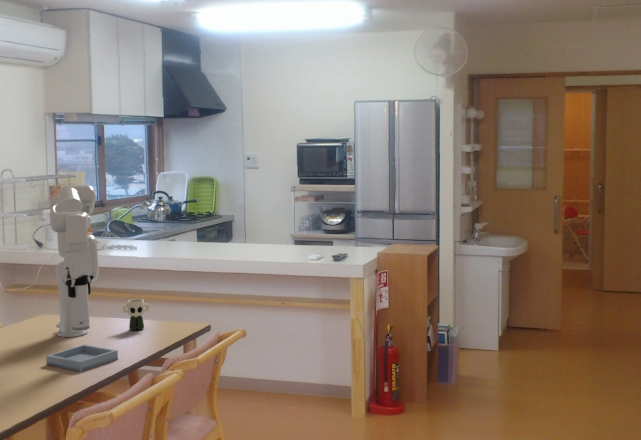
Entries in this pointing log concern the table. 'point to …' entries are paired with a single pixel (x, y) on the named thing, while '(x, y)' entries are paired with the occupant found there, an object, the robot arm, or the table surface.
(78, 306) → the travel mug
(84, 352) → the tray
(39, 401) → the table surface
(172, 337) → the table surface
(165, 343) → the table surface
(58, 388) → the table surface
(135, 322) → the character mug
